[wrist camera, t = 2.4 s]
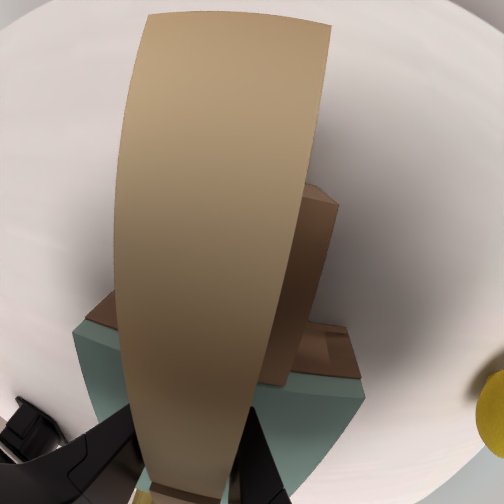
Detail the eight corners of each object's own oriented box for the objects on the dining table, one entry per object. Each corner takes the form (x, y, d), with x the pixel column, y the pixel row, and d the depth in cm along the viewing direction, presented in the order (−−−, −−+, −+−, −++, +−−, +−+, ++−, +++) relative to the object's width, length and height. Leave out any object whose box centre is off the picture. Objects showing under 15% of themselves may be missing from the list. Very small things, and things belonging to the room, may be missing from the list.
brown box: (273, 473, 18) (269, 516, 14) (144, 445, 18) (127, 483, 14) (385, 203, 11) (437, 231, 6) (128, 157, 11) (62, 164, 7)
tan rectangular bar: (233, 436, 9) (221, 499, 7) (172, 422, 10) (150, 480, 7) (310, 80, 5) (331, 25, 3) (202, 66, 5) (148, 14, 3)
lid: (270, 499, 16) (265, 553, 11) (134, 469, 16) (114, 517, 11) (356, 366, 10) (384, 479, 5) (95, 309, 11) (18, 387, 6)
